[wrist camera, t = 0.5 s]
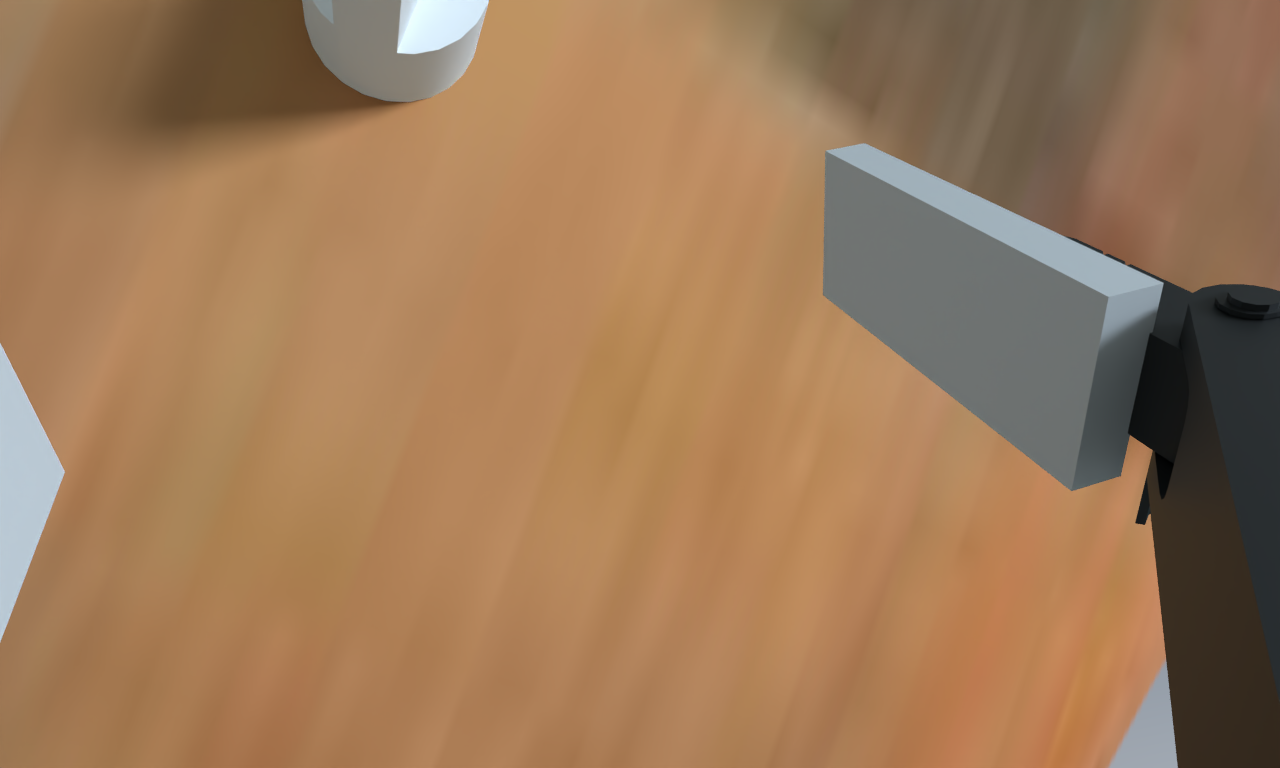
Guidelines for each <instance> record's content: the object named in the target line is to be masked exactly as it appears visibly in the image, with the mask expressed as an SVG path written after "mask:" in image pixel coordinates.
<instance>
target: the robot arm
mask: <svg viewBox="0 0 1280 768" xmlns="http://www.w3.org/2000/svg"><path fill="white" fill-rule="evenodd" d="M823 295H824V296H825V297H826V298H827V299H829V300H830V301H831V302H832V303H834V304H835V305H836V306H838V307H839V308H840V309H841V310H843V311H844V312H845V313H846V314H848V315H849V316H850V317H851V318H853V319H854V320H855V321H857V322H858V323H859V324H860V325H862V326H863V327H864V328H865V329H867V330H868V331H869V332H870V333H872V334H873V335H874V336H876V337H877V338H878V339H879V340H881V341H882V342H883V343H884V344H886V345H887V346H888V347H890V348H891V349H892V350H893V351H895V352H896V353H897V354H898V355H900V356H901V357H902V358H903V359H905V360H906V361H907V362H909V363H910V364H911V365H912V366H914V367H915V368H916V369H917V370H919V371H920V372H921V373H922V374H924V375H925V376H926V377H928V378H929V379H930V380H931V381H933V382H934V383H935V384H936V385H938V386H939V387H940V388H941V389H943V390H944V391H945V392H947V393H948V394H949V395H950V396H952V397H953V398H954V399H955V400H957V401H958V402H959V403H961V404H962V405H963V406H964V407H966V408H967V409H968V410H969V411H971V412H972V413H973V414H974V415H976V416H977V417H978V418H980V419H981V420H982V421H983V422H985V423H986V424H987V425H988V426H990V427H991V428H992V429H993V430H995V431H996V432H997V433H999V434H1000V435H1001V436H1002V437H1004V438H1005V439H1006V440H1007V441H1009V442H1010V443H1011V444H1012V445H1014V446H1015V447H1016V448H1018V449H1019V450H1020V451H1021V452H1023V453H1024V454H1025V455H1026V456H1028V457H1029V458H1030V459H1031V460H1033V461H1034V462H1035V463H1037V464H1038V465H1039V466H1040V467H1042V468H1043V469H1044V470H1045V471H1047V472H1048V473H1049V474H1051V475H1052V476H1053V477H1054V478H1056V479H1057V480H1058V481H1059V482H1061V483H1062V484H1063V485H1064V486H1066V487H1067V488H1068V489H1070V490H1071V491H1073V490H1077V489H1080V488H1083V487H1086V486H1090V485H1093V484H1096V483H1099V482H1102V481H1106V480H1109V479H1112V478H1115V477H1119V476H1121V472H1122V467H1123V463H1124V459H1125V454H1126V450H1127V445H1128V441H1129V436H1130V435H1131V436H1132V437H1134V438H1135V439H1137V440H1138V441H1140V442H1141V443H1143V444H1144V445H1146V446H1147V447H1149V448H1150V449H1152V450H1153V452H1152V456H1151V460H1150V465H1149V469H1148V473H1147V477H1146V481H1145V485H1144V489H1143V494H1142V498H1141V502H1140V506H1139V510H1138V514H1137V518H1136V523H1137V524H1143V525H1145V523H1146V520H1147V518H1148V515H1149V514H1151V521H1152V531H1153V540H1154V549H1155V558H1156V568H1157V577H1158V586H1159V596H1160V605H1161V614H1162V624H1163V633H1164V642H1165V651H1166V661H1167V670H1168V679H1169V689H1170V698H1171V707H1172V716H1173V725H1174V735H1175V744H1176V753H1177V762H1178V768H1280V291H1277V290H1274V289H1270V288H1265V287H1259V286H1254V285H1244V284H1230V285H1215V286H1210V287H1204V288H1201V289H1200V290H1198V291H1196V292H1194V293H1191V292H1189V291H1187V290H1185V289H1183V288H1181V287H1178V286H1176V285H1174V284H1172V283H1170V282H1168V281H1166V280H1163V279H1161V278H1159V277H1157V276H1155V275H1153V274H1150V273H1148V272H1146V271H1144V270H1142V269H1140V268H1137V267H1135V266H1133V265H1131V264H1130V265H1125V261H1122V260H1120V259H1118V258H1116V257H1114V256H1112V255H1109V254H1106V255H1103V251H1101V250H1099V249H1096V248H1094V247H1092V246H1090V245H1088V244H1086V243H1083V242H1081V241H1079V240H1077V239H1074V238H1070V237H1066V236H1062V235H1060V234H1058V233H1056V232H1053V231H1051V230H1049V229H1047V228H1045V227H1043V226H1041V225H1038V224H1036V223H1034V222H1032V221H1030V220H1028V219H1026V218H1023V217H1021V216H1019V215H1017V214H1015V213H1013V212H1011V211H1008V210H1006V209H1004V208H1002V207H1000V206H998V205H996V204H993V203H991V202H989V201H987V200H985V199H983V198H981V197H978V196H976V195H974V194H972V193H970V192H968V191H966V190H963V189H961V188H959V187H957V186H955V185H953V184H951V183H948V182H946V181H944V180H942V179H940V178H938V177H936V176H933V175H931V174H929V173H927V172H925V171H923V170H921V169H919V168H916V167H914V166H912V165H910V164H908V163H906V162H904V161H901V160H899V159H897V158H895V157H893V156H891V155H889V154H886V153H884V152H882V151H880V150H878V149H876V148H874V147H871V146H869V145H867V144H865V143H864V144H859V145H854V146H849V147H843V148H838V149H833V150H828V151H825V208H824V268H823ZM64 473H65V471H64V469H63V467H62V465H61V463H60V461H59V459H58V457H57V455H56V453H55V451H54V449H53V447H52V445H51V443H50V441H49V439H48V437H47V435H46V433H45V431H44V429H43V427H42V425H41V423H40V421H39V419H38V417H37V415H36V413H35V411H34V409H33V407H32V405H31V403H30V401H29V399H28V397H27V395H26V393H25V391H24V389H23V387H22V385H21V383H20V381H19V379H18V377H17V375H16V373H15V371H14V369H13V367H12V365H11V363H10V361H9V360H8V358H7V356H6V354H5V352H4V350H3V348H2V346H1V344H0V641H1V639H2V636H3V633H4V631H5V628H6V626H7V623H8V620H9V618H10V615H11V612H12V610H13V607H14V604H15V602H16V599H17V597H18V594H19V591H20V589H21V586H22V583H23V581H24V578H25V575H26V573H27V570H28V568H29V565H30V562H31V560H32V557H33V554H34V552H35V549H36V546H37V544H38V541H39V539H40V536H41V533H42V531H43V528H44V525H45V523H46V520H47V517H48V515H49V512H50V510H51V507H52V504H53V502H54V499H55V496H56V494H57V491H58V489H59V486H60V483H61V481H62V478H63V475H64Z"/></svg>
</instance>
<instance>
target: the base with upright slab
mask: <svg viewBox="0 0 1280 768" xmlns="http://www.w3.org/2000/svg"><path fill="white" fill-rule="evenodd" d="M488 2H489V0H302V3H303V11H304V18H305V25H306V28H307V31H308V34H309V37H310V41H311V44H312V46H313V48H314V50H315V51H316V53H317V54H318V56H319V57H320V59H321V60H322V62H323V64H324V65H325V66H326V67H327V68H328V69H329V70H330V71H331V72H332V73H333V74H334V75H335V76H336V77H337V78H338V79H339V80H340V81H342V82H343V83H344V84H346V85H348V86H350V87H351V88H353V89H355V90H357V91H358V92H360V93H362V94H364V95H367V96H370V97H374V98H377V99H381V100H384V101H394V102H412V101H417V100H422V99H427V98H431V97H433V96H435V95H437V94H438V93H440V92H442V91H444V90H446V89H448V88H450V87H451V86H452V85H453V84H454V83H455V82H456V81H457V80H458V79H459V78H460V77H461V76H462V75H463V74H464V73H465V71H466V69H467V68H468V66H469V64H470V62H471V61H472V59H473V57H474V54H475V50H476V46H477V43H478V39H479V35H480V32H481V28H482V24H483V21H484V17H485V13H486V10H487V6H488Z"/></svg>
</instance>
